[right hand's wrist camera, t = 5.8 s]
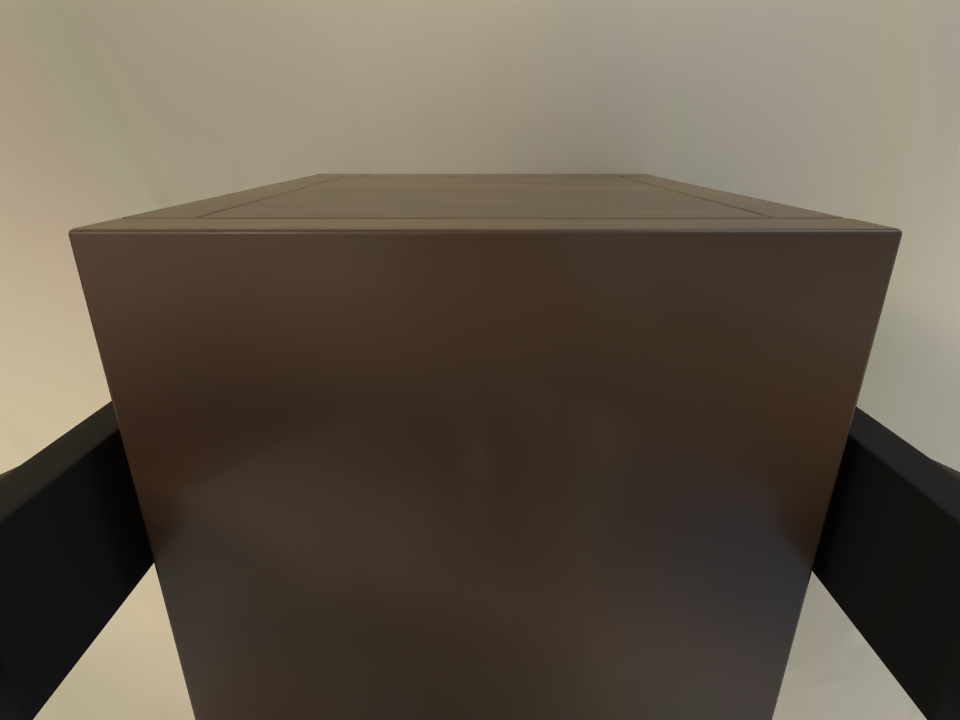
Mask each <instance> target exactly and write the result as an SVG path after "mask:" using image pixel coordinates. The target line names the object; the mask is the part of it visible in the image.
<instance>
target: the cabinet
mask: <svg viewBox="0 0 960 720" xmlns="http://www.w3.org/2000/svg"><path fill="white" fill-rule="evenodd" d="M901 236H902V231H901V230H899V229H896V228H892V227H887V226H882V225H878V224H873V223H868V222H864V221H859V220H855V219H844V218H842V217H838V216H834V215H829V214H825V213H820V212H815V211H811V210H806V209H802V208H797V207H792V206H788V205H783V204H778V203H774V202H769V201H765V200H760V199H755V198H751V197H746V196H742V195H737V194H732V193H728V192H723V191H719V190H714V189H709V188H705V187H700V186H696V185H691V184H686V183H682V182H677V181H673V180H668V179H663V178H659V177H655V176H651V175H646V174H318V175H314V176H309V177H304V178H300V179H295V180H291V181H286V182H282V183H277V184H273V185H268V186H264V187H259V188H255V189H250V190H245V191H241V192H236V193H232V194H227V195H223V196H218V197H214V198H209V199H205V200H200V201H196V202H191V203H187V204H182V205H177V206H173V207H168V208H164V209H159V210H155V211H150V212H146V213H141V214H137V215H132V216H128V217H123V218H121V219H115V220H110V221H106V222H101V223H97V224H92V225H88V226H83V227H79V228H74V229H72V230H70V231H69V238H70V242H71V246H72V249H73V253H74V257H75V261H76V265H77V269H78V272H79V276H80V280H81V284H82V288H83V292H84V295H85V299H86V303H87V307H88V311H89V315H90V318H91V322H92V326H93V330H94V334H95V337H96V341H97V345H98V349H99V353H100V357H101V360H102V364H103V368H104V372H105V376H106V380H107V383H108V387H109V391H110V395H111V399H112V403H113V406H114V410H115V414H116V418H117V422H118V425H119V429H120V433H121V437H122V441H123V445H124V448H125V452H126V456H127V460H128V464H129V468H130V471H131V475H132V479H133V483H134V487H135V491H136V494H137V498H138V502H139V506H140V510H141V513H142V517H143V521H144V525H145V529H146V533H147V536H148V540H149V544H150V548H151V552H152V556H153V559H154V563H155V567H156V571H157V575H158V578H159V582H160V586H161V590H162V594H163V598H164V601H165V605H166V609H167V613H168V617H169V621H170V624H171V628H172V632H173V636H174V640H175V644H176V647H177V651H178V655H179V659H180V663H181V666H182V670H183V674H184V678H185V682H186V686H187V689H188V693H189V697H190V701H191V705H192V709H193V712H194V716H195V720H772V717H773V714H774V710H775V706H776V703H777V699H778V695H779V691H780V688H781V684H782V680H783V676H784V673H785V669H786V665H787V661H788V658H789V654H790V650H791V647H792V643H793V639H794V635H795V632H796V628H797V624H798V620H799V617H800V613H801V609H802V606H803V602H804V598H805V594H806V591H807V587H808V583H809V579H810V576H811V572H812V568H813V564H814V561H815V557H816V553H817V550H818V546H819V542H820V538H821V535H822V531H823V527H824V523H825V520H826V516H827V512H828V509H829V505H830V501H831V497H832V494H833V490H834V486H835V482H836V479H837V475H838V471H839V467H840V464H841V460H842V456H843V453H844V449H845V445H846V441H847V438H848V434H849V430H850V426H851V423H852V419H853V415H854V412H855V408H856V404H857V400H858V397H859V393H860V389H861V385H862V382H863V378H864V374H865V370H866V367H867V363H868V359H869V356H870V352H871V348H872V344H873V341H874V337H875V333H876V329H877V326H878V322H879V318H880V315H881V311H882V307H883V303H884V300H885V296H886V292H887V288H888V285H889V281H890V277H891V273H892V270H893V266H894V262H895V259H896V255H897V251H898V247H899V244H900V240H901Z"/></svg>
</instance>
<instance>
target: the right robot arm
mask: <svg viewBox="0 0 960 720" xmlns="http://www.w3.org/2000/svg"><path fill="white" fill-rule="evenodd" d="M153 563H154V559H153V556H152V552H151V548H150V544H149V540H148V536H147V533H146V529H145V525H144V521H143V517H142V513H141V510H140V506H139V502H138V498H137V494H136V491H135V487H134V483H133V479H132V475H131V471H130V468H129V464H128V460H127V456H126V452H125V448H124V445H123V441H122V437H121V433H120V429H119V425H118V422H117V418H116V414H115V410H114V406H113V403H112V401H111V402H109V403H108V404H107V405H105V406H104V407H102V408H101V409H99V410H98V411H97V412H95V413H94V414H92V415H91V416H90V417H88V418H87V419H85V420H84V421H83V422H81V423H80V424H78V425H77V426H75V427H74V428H73V429H71V430H70V431H68V432H67V433H66V434H64V435H63V436H61V437H60V438H58V439H57V440H56V441H54V442H53V443H51V444H50V445H49V446H47V447H46V448H44V449H43V450H42V451H40V452H39V453H37V454H36V455H34V456H33V457H32V458H30V459H29V460H27V461H26V462H25V463H23V464H22V465H20V466H18V467H16V468H14V469H12V470H9V471H7V472H5V473H3V474H1V475H0V720H33V719H34V717H35V716H36V715H37V714H38V712H39V711H40V710H41V708H42V707H43V706H44V704H45V703H46V702H47V701H48V699H49V698H50V697H51V695H52V694H53V693H54V691H55V690H56V689H57V688H58V686H59V685H60V684H61V682H62V681H63V680H64V679H65V677H66V676H67V675H68V673H69V672H70V671H71V669H72V668H73V667H74V666H75V664H76V663H77V662H78V660H79V659H80V658H81V657H82V655H83V654H84V653H85V651H86V650H87V649H88V647H89V646H90V645H91V644H92V642H93V641H94V640H95V638H96V637H97V636H98V634H99V633H100V632H101V631H102V629H103V628H104V627H105V625H106V624H107V623H108V622H109V620H110V619H111V618H112V616H113V615H114V614H115V612H116V611H117V610H118V609H119V607H120V606H121V605H122V603H123V602H124V601H125V600H126V598H127V597H128V596H129V594H130V593H131V592H132V590H133V589H134V588H135V587H136V585H137V584H138V583H139V581H140V580H141V579H142V577H143V576H144V575H145V574H146V572H147V571H148V570H149V568H150V567H151V566H152V565H153ZM812 571H813V572H814V574H815V575H816V576H817V577H818V579H819V580H820V581H821V583H822V584H823V585H824V587H825V588H826V589H827V590H828V592H829V593H830V594H831V596H832V597H833V598H834V599H835V601H836V602H837V603H838V605H839V606H840V607H841V609H842V610H843V611H844V612H845V614H846V615H847V616H848V618H849V619H850V620H851V622H852V623H853V624H854V625H855V627H856V628H857V629H858V631H859V632H860V633H861V634H862V636H863V637H864V638H865V640H866V641H867V642H868V644H869V645H870V646H871V647H872V649H873V650H874V651H875V653H876V654H877V655H878V656H879V658H880V659H881V660H882V662H883V663H884V664H885V666H886V667H887V668H888V669H889V671H890V672H891V673H892V675H893V676H894V677H895V679H896V680H897V681H898V682H899V684H900V685H901V686H902V688H903V689H904V690H905V691H906V693H907V694H908V695H909V697H910V698H911V699H912V701H913V702H914V703H915V704H916V706H917V707H918V708H919V710H920V711H921V712H922V713H923V715H924V716H925V717H926V719H927V720H960V472H958V471H956V470H954V469H952V468H949V467H947V466H945V465H943V464H941V463H938V462H936V461H934V460H932V459H930V458H928V457H927V456H926V455H924V454H923V453H921V452H920V451H918V450H917V449H916V448H914V447H913V446H911V445H910V444H909V443H907V442H906V441H904V440H903V439H902V438H900V437H899V436H897V435H896V434H894V433H893V432H892V431H890V430H889V429H887V428H886V427H885V426H883V425H882V424H880V423H879V422H877V421H876V420H875V419H873V418H872V417H870V416H869V415H868V414H866V413H865V412H863V411H862V410H861V409H859V408H858V407H856V408H855V412H854V415H853V419H852V423H851V426H850V430H849V434H848V438H847V441H846V445H845V449H844V453H843V456H842V460H841V464H840V467H839V471H838V475H837V479H836V482H835V486H834V490H833V494H832V497H831V501H830V505H829V509H828V512H827V516H826V520H825V523H824V527H823V531H822V535H821V538H820V542H819V546H818V550H817V553H816V557H815V561H814V564H813V568H812Z"/></svg>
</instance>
